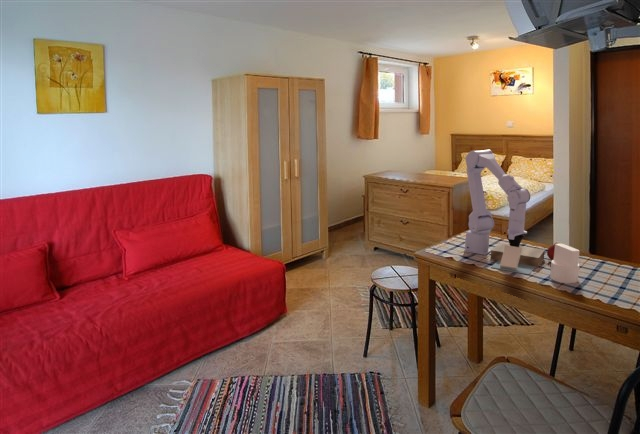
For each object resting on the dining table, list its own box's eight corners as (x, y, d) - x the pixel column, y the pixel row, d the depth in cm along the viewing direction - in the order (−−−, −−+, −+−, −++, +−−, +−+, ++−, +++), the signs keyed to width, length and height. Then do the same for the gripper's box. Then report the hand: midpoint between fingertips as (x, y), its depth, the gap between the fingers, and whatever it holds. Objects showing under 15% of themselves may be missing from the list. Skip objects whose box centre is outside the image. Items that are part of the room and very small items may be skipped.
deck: (490, 259, 184) (491, 250, 183) (498, 251, 193) (499, 243, 192) (537, 267, 173) (538, 257, 172) (543, 259, 182) (544, 249, 182)
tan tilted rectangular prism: (500, 267, 174) (499, 264, 172) (505, 247, 177) (505, 245, 176) (516, 270, 170) (516, 267, 169) (521, 250, 174) (521, 247, 172)
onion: (561, 264, 175) (563, 245, 174) (545, 262, 178) (547, 243, 177) (562, 260, 180) (564, 241, 178) (547, 258, 183) (548, 239, 181)
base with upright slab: (583, 281, 158) (587, 249, 156) (561, 284, 157) (565, 252, 154) (565, 273, 167) (568, 242, 164) (544, 275, 165) (547, 244, 162)
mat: (491, 267, 174) (491, 267, 174) (498, 260, 182) (498, 260, 182) (529, 274, 166) (529, 274, 166) (535, 267, 174) (535, 266, 174)
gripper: (523, 224, 165) (520, 259, 169) (531, 217, 177) (528, 249, 180) (503, 222, 170) (501, 256, 173) (513, 214, 181) (510, 246, 184)
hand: (514, 252), depth 177 cm, fingers closed
